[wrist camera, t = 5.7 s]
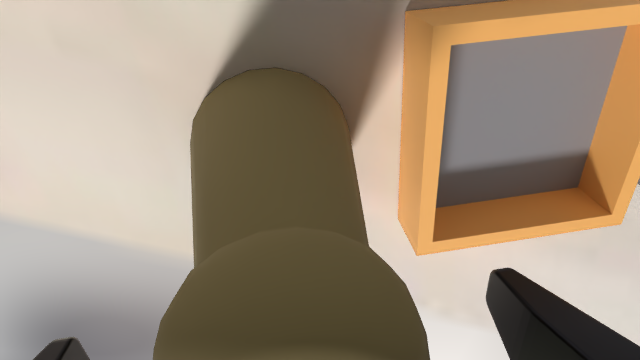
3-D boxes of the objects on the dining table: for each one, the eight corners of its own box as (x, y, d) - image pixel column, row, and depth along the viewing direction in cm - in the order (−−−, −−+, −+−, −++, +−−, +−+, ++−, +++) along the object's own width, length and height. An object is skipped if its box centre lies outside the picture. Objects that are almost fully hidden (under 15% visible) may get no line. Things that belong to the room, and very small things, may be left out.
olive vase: (217, 40, 14) (151, 281, 4) (376, 102, 16) (560, 360, 6) (172, 187, 16) (69, 535, 7) (312, 225, 18) (378, 536, 9)
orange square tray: (645, -14, 15) (710, -4, 13) (580, 191, 19) (621, 224, 17) (405, 11, 14) (433, 26, 12) (398, 218, 19) (417, 255, 17)
